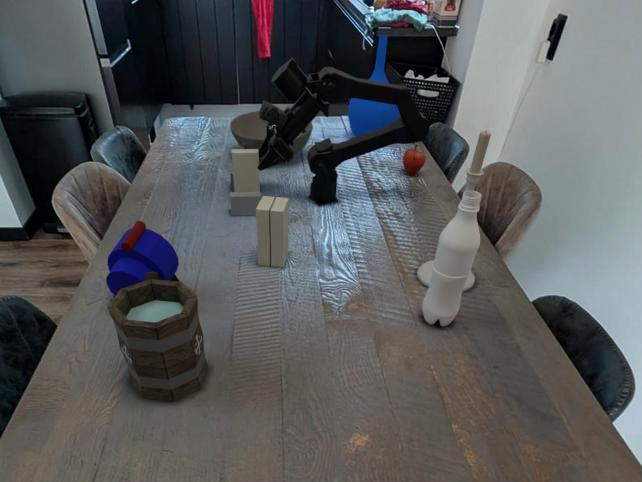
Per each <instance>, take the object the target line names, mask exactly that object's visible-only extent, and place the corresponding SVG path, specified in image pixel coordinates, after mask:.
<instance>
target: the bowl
mask: <svg viewBox="0 0 642 482" xmlns="http://www.w3.org/2000/svg"><path fill="white" fill-rule="evenodd" d="M259 111H260V110H256V111H251V112H245V113H243V114H240V115H237V116H236V117H234V118H233V119H232V120H231V121H230V124H229V129H230V132H231V134H232V136H233V138H234V140H235V141H236V143H237V144H238V145H239V146H240V147H241V149H258V150H259V148H260V147H261V145H262V143H263V141H264V139H265V137H266V134H267V133H266V125H268V123H267V121H266V120H265V121H264V120H262V119H260V118H259ZM268 126H269V125H268ZM313 128H314V126H313V123H312V122H311V123H310V124H309V125H308V126H307V127H306V128H305V129H306V132H305V133H304V134H303V133H302V132H301V134H300V135H299V136H298V137H297V138H296V139H295V140H294V145H293V146H292V147H293V151H294V156H296V155H297V154H299V153H300V152H302V150H303V149H304V148H305V147H306V145H307V144H308V142H309V140H310V137H311V135H312V132H313ZM264 156H265V155H264ZM264 156H262V157H260V158H259V160H262V159H263V158H264Z"/></svg>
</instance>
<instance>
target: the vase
mask: <svg viewBox="0 0 642 482" xmlns="http://www.w3.org/2000/svg"><path fill="white" fill-rule="evenodd" d="M388 37H389V36H388V35H386V34H380V35H379V36H378V42H377V50H376V57H375V66H374V70H373V72H372V74H371V76H370V77H369V78H368V80H371V81H377V82H383V83H388V84H390V82H389V80H388V78H387V76H386V73H385V63H386V55H387V45H388ZM347 108H348V109H347V118H348V122H349V128H350V130H351V132H352V134H353V136H354V138H355V137H358V136H361V135H364V134H366V133H369V132H372V131H375V130H378V129H381V128H383V127H386V126H389V125H391V124H392V123H393V122H394V121H395V120H397V119H398V118H399V117H401V115H400V113H399V111H398V108H397V106H396V105H392V104H386V103H380V102H374V101H368V100H362V99H356V98H350V101H349V103H348V107H347Z"/></svg>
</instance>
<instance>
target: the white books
mask: <svg viewBox="0 0 642 482" xmlns="http://www.w3.org/2000/svg"><path fill="white" fill-rule="evenodd" d="M255 219H256V221H255V222H256V242H257V243H256V244H257V245H256V246H257V265H258V266H267V267H270V266H271V267H274V268H284V266H285V264H286V261H287V259H288V255H289V247H290V246H289V245H290V244H289V241H290V240H289V238H290V236H289V232H290V231H289V230H290V227H289V226H290V198H289V197H281V196H270V195H261V200H260V202H259V204H258V206H257V208H256V215H255Z"/></svg>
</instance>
